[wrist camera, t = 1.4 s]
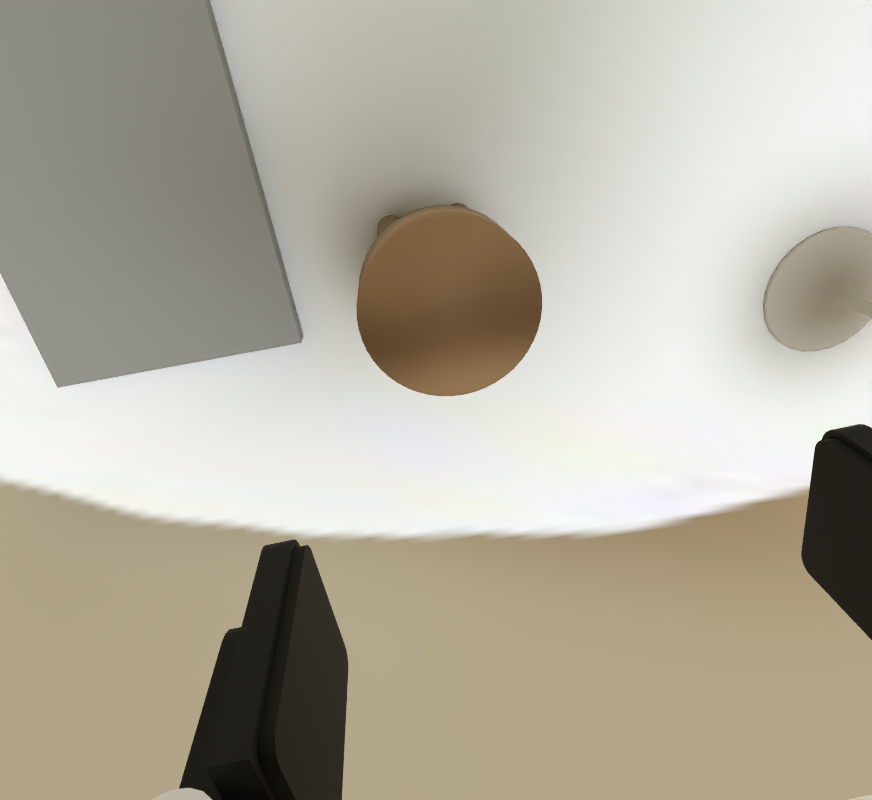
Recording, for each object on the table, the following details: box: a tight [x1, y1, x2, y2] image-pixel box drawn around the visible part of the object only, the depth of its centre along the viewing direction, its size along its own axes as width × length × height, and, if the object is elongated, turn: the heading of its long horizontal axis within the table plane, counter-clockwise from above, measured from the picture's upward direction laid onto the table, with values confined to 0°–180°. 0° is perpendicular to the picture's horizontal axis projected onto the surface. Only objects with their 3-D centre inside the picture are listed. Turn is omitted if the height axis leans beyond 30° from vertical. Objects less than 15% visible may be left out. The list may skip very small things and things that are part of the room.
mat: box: [0, 0, 303, 387], centre depth 27 cm, size 20×13×1 cm, turn 9°
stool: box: [357, 203, 542, 396], centre depth 26 cm, size 7×7×10 cm
